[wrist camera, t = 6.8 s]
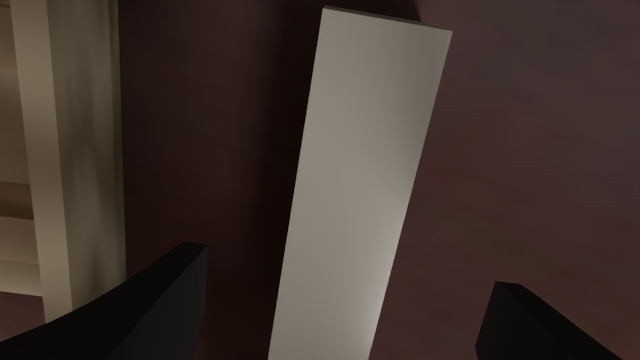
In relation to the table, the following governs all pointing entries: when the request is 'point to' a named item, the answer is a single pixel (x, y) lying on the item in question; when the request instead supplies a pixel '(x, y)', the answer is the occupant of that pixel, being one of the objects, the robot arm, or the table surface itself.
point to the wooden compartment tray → (61, 152)
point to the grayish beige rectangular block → (354, 179)
